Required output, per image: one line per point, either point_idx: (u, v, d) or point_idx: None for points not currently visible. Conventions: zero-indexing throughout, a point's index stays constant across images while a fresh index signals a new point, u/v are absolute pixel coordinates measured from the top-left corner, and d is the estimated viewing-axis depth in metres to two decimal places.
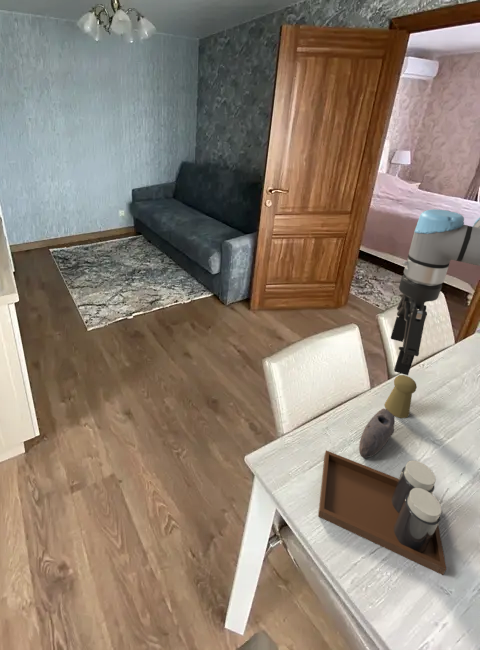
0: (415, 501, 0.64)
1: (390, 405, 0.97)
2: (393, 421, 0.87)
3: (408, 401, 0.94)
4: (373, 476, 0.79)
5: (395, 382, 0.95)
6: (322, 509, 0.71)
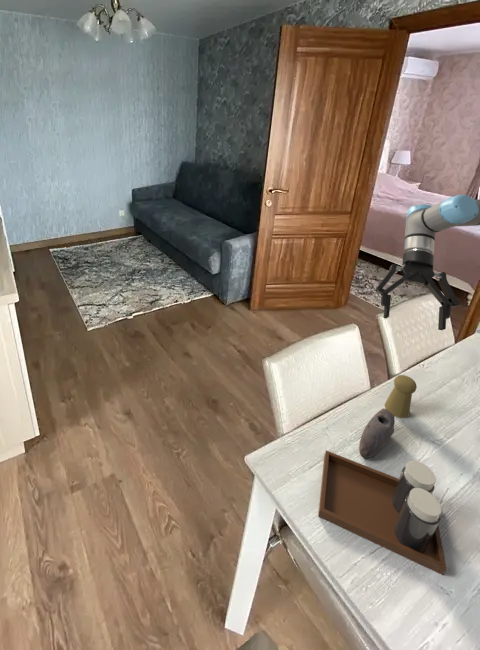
0: (415, 501, 0.64)
1: (390, 405, 0.97)
2: (393, 421, 0.87)
3: (408, 401, 0.94)
4: (373, 476, 0.79)
5: (395, 382, 0.95)
6: (322, 509, 0.71)
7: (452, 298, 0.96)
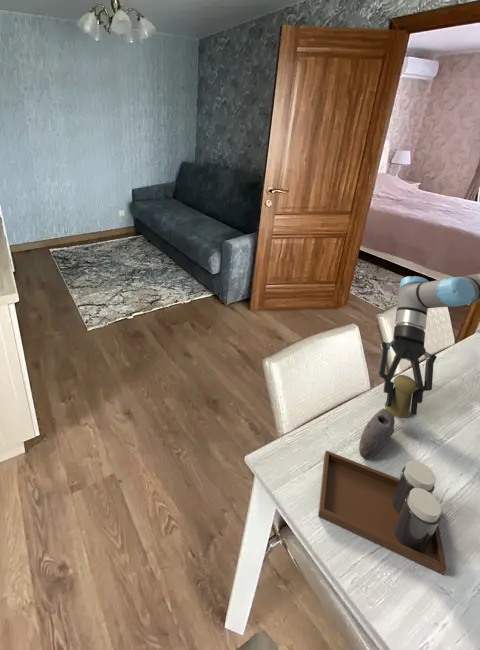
0: (415, 501, 0.64)
1: None
2: (393, 421, 0.87)
3: (408, 401, 0.94)
4: (373, 476, 0.79)
5: (395, 382, 0.95)
6: (322, 509, 0.71)
7: (428, 381, 0.94)
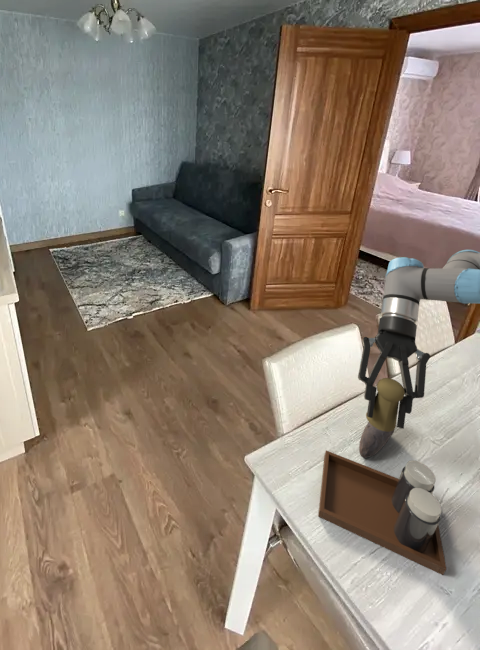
0: (415, 501, 0.64)
1: None
2: None
3: (394, 411, 0.75)
4: (373, 476, 0.79)
5: (378, 387, 0.76)
6: (322, 509, 0.71)
7: (419, 387, 0.75)
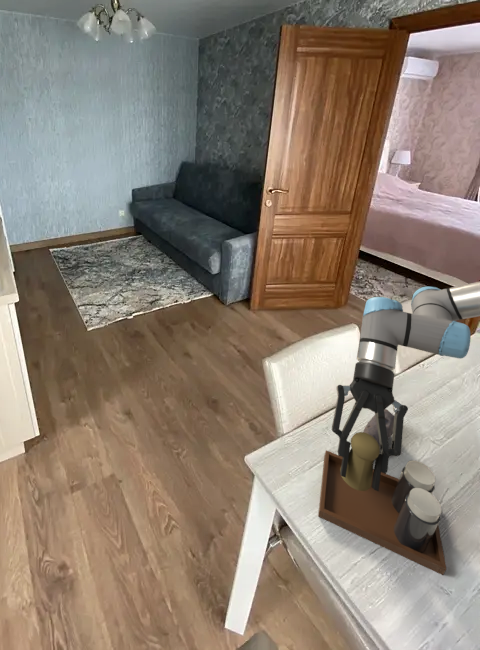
0: (415, 501, 0.64)
1: (346, 472, 0.72)
2: (393, 421, 0.87)
3: (369, 469, 0.69)
4: None
5: (352, 443, 0.70)
6: (322, 509, 0.71)
7: (395, 443, 0.69)
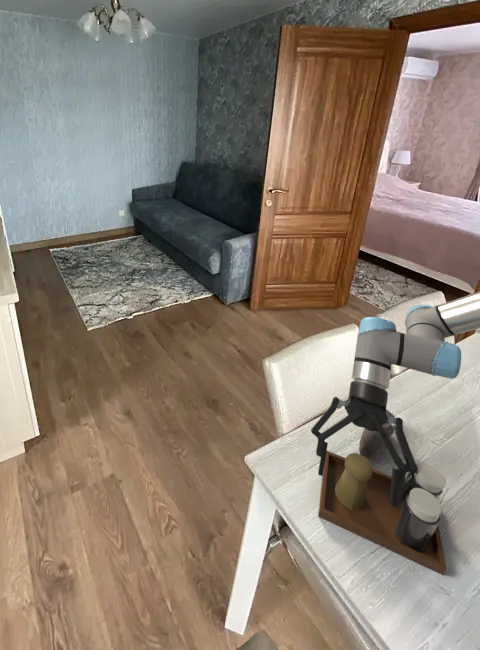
0: (415, 501, 0.64)
1: (341, 492, 0.74)
2: None
3: (362, 490, 0.72)
4: (373, 476, 0.79)
5: (346, 464, 0.73)
6: (322, 509, 0.71)
7: (408, 460, 0.70)
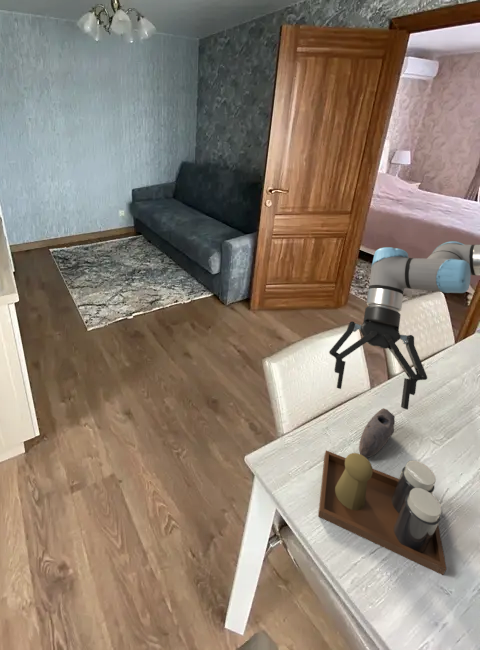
0: (415, 501, 0.64)
1: (341, 492, 0.74)
2: (393, 421, 0.87)
3: (362, 490, 0.72)
4: (373, 476, 0.79)
5: (346, 464, 0.73)
6: (322, 509, 0.71)
7: (419, 370, 0.78)
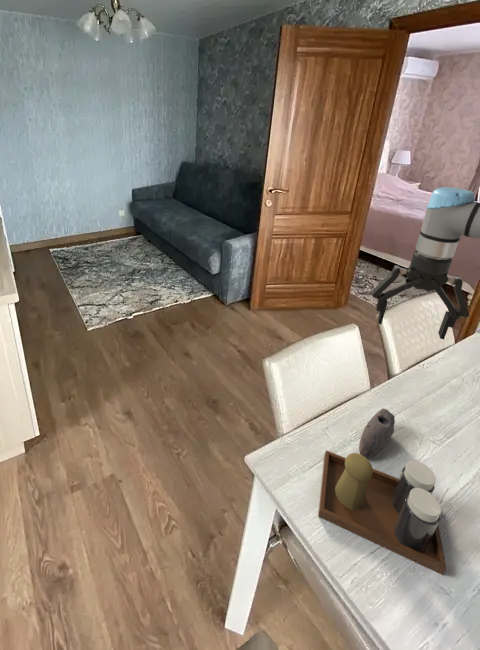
0: (415, 501, 0.64)
1: (341, 492, 0.74)
2: (393, 421, 0.87)
3: (362, 490, 0.72)
4: (373, 476, 0.79)
5: (346, 464, 0.73)
6: (322, 509, 0.71)
7: (462, 309, 0.81)
